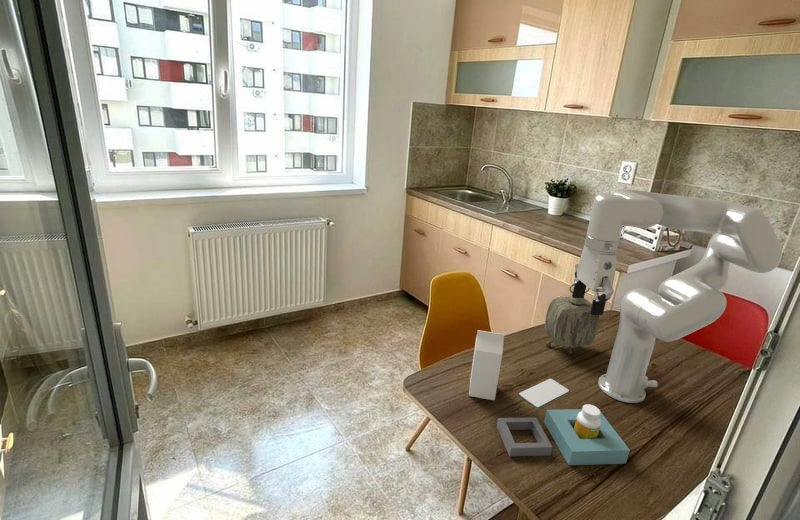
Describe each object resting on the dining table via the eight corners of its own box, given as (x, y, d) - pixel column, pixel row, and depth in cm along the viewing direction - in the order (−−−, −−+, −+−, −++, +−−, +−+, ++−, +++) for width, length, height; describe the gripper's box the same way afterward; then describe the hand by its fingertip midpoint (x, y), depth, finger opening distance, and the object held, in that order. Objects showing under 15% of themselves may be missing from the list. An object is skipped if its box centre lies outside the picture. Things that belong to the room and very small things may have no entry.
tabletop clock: (579, 342, 152) (594, 277, 143) (593, 357, 144) (610, 288, 135) (540, 343, 150) (553, 276, 141) (552, 358, 142) (567, 288, 133)
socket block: (595, 421, 114) (598, 409, 113) (625, 463, 101) (630, 450, 100) (544, 422, 113) (546, 409, 111) (568, 465, 100) (572, 451, 98)
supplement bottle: (585, 453, 104) (594, 420, 100) (566, 438, 108) (574, 406, 104) (599, 444, 107) (608, 412, 103) (580, 430, 111) (588, 399, 107)
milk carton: (494, 401, 120) (504, 341, 113) (468, 396, 121) (477, 336, 114) (494, 385, 126) (504, 328, 120) (470, 381, 127) (478, 324, 121)
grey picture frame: (534, 425, 112) (536, 417, 111) (550, 455, 102) (552, 447, 101) (496, 425, 111) (498, 417, 110) (509, 456, 101) (511, 448, 100)
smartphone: (517, 393, 123) (550, 377, 131) (516, 395, 123) (550, 379, 131) (536, 408, 118) (570, 390, 126) (536, 409, 118) (570, 392, 126)
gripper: (635, 256, 101) (618, 322, 107) (597, 234, 117) (584, 292, 123) (605, 255, 100) (589, 321, 106) (570, 233, 116) (558, 291, 122)
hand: (586, 305), depth 114 cm, fingers open, 9 cm apart
